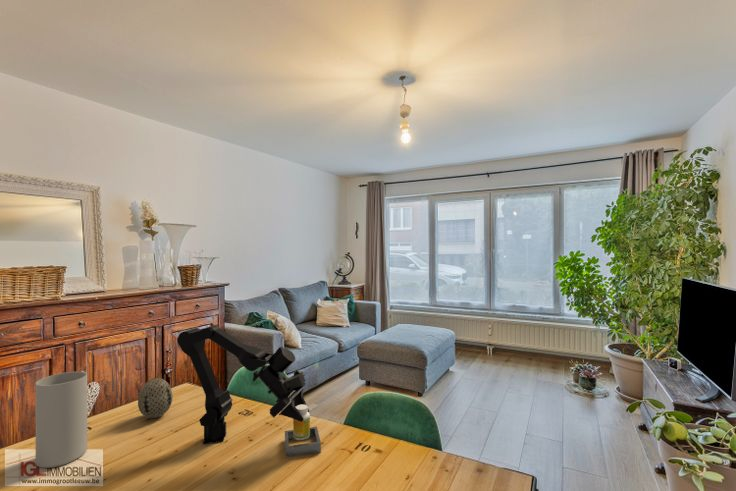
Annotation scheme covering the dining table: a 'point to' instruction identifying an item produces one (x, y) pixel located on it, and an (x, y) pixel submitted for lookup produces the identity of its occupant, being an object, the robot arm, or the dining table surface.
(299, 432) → the supplement bottle
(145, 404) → the decorative egg
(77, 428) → the cylinder vase
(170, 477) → the dining table surface
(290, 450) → the collar
